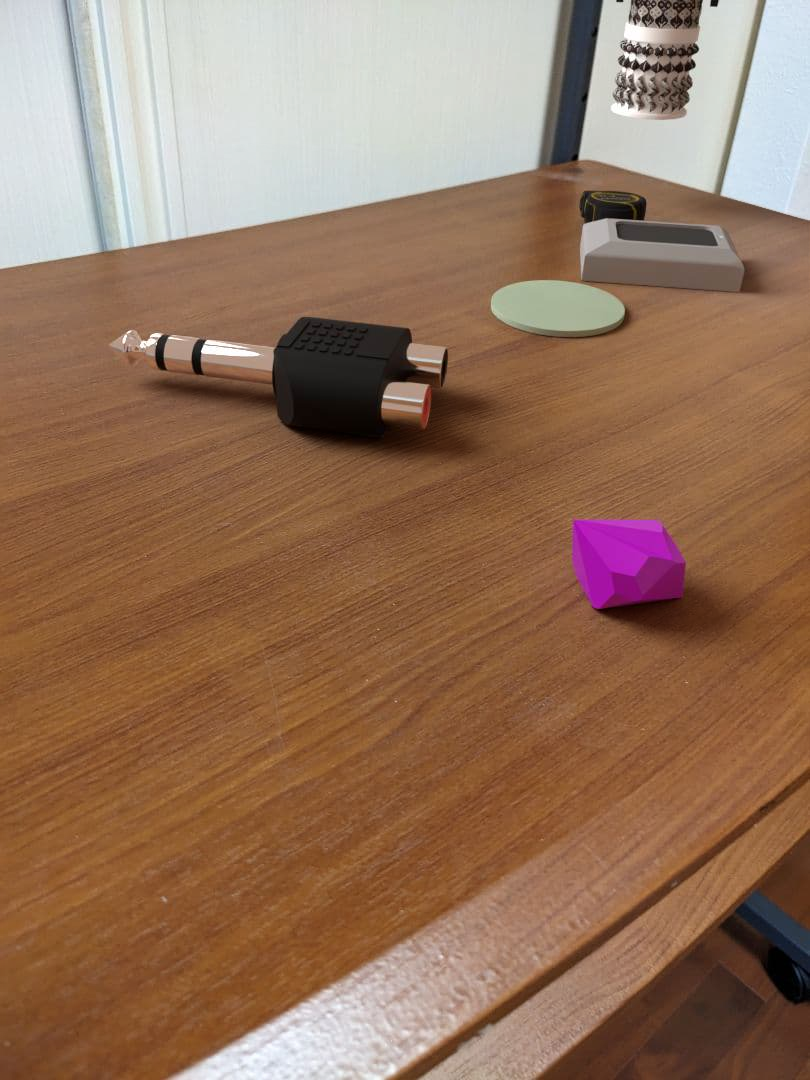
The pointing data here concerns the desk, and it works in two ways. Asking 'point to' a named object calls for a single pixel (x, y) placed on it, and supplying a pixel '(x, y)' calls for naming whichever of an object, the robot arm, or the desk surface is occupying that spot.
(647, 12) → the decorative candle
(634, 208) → the tape measure
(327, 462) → the desk surface
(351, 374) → the audio adapter
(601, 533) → the crystal
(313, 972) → the desk surface
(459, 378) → the desk surface
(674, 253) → the grey device with screen
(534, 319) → the coaster
